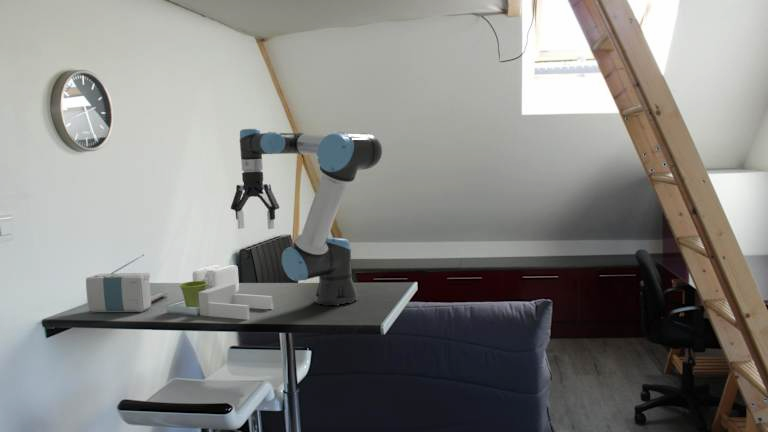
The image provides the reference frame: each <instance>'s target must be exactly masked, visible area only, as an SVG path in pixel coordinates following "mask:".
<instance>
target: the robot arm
mask: <svg viewBox="0 0 768 432" xmlns="http://www.w3.org/2000/svg"><path fill="white" fill-rule="evenodd" d="M239 148H240V158H241V160H240V162H241V171H243V172H242V174H241V176H242V177H241V178H242V183H243V184H236V191H235V193H234V197H233V199H232V203H231V206H230V209H231V210H233V211H235V219H236V221H237V229H238V230H239V229H240V230H241V229H245V217H244V210H243V209H244V206H245V205H246V203H247V202H248V199H250V198H251V197H255V198H256V197H257V198H259V200H260V201H261V202H262V204H264V206H265V208H266V209H267V211H266V213H267V229H268V230H272V229H275V221H274V220H275V219H276V210H278V209H280V205H279V203H278V201H277V199H276V197H275V195H274V192H273V191H272V185H271V184H270V183H265V184H264V183H263V181H264V172H263V171H262V170H263V165H264V164H263V155H278V154H279V155H280V154H284V155H285V154H297V155H306V156H315V157H318V158H317V163H318V165H319V168H318V169H319V171H320V173H321V174H322V175H321V176H320V180H319V183H318V185H317V189H316V191H315V194H314V196H313V200H312V202H311V206H310V209H309V211H308V214H307V217H306V220H305V223H304V226H303V230H302V232H301V234H298V235H297V236H296V237H295V239H294V241H293V243H292V244H293V245H292V246H289V247H287V248H285V249H284V250H283V252H282V253H281V254H282V255H281V265H282V267H283V271H284V273H285V274H286V275H287V277H288V278H289V279H291V280H292V281H295V282H300V281H307V280H309V279H313V278H317V277H318V281H319V282H318V283H317V289H316V292H315V297H314V298H315V303H316V304H317V303H318V304H317V305H320V304H323V305H322V306H328V305H335V306H338V305H337V304H345V303H350V302H353V301H355V300H357V301H358V292H357V290H356V287H355V283H354V282H353V280H352V260H351V258H352V256H351V255H352V254H351V253H352V252H351V251H352V250H351V245H350V244H351V243H350V241H349V240H348V239H347V238H341V237H329V234H330V232H331V229H332V227H333V224H334V221H335V218H336V216H337V212H338V210H339V208H340V205H341V202H342V199H343V196H344V194H345V191H346V188H347V186H348V184H350V183H352V182H353V181H354V180H355V178H356V175H357V173H358V171H359V170H368V169H371V168H373V167H375V166H376V165H377V164H378V163H379V162H380V161H381V159H382V155H383V147H382V144H381V142H380V140H379V139H378V138H377V137H376V136H374V135H372V134H371V133H365V132H364V133H363V132H362V133H360V132H358V133H356V132H355V133H354V132H351V133H349V132H336V133H335V132H334V133H329V134H327V135H324V134H322V135H321V134H310V133H309V134H308V133H304V132H275V131H268V132H264V133H261V129H258V128H243V129H240V131H239ZM355 302H356V301H355ZM353 303H354V302H353ZM350 304H351V303H350ZM345 305H346V304H345Z"/></svg>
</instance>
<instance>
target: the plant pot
mask: <svg viewBox="0 0 768 432" xmlns="http://www.w3.org/2000/svg"><path fill="white" fill-rule="evenodd" d="M206 284H207V282H206V281H193V280H192V281H186V282H183V283H180V284H179V285H178V286H179V287H180V289H181V291H182V296H183V301H184V300H185V305H186V307H195V308H197V307H199V293H198V292H201V291H204V290H205V289H206Z"/></svg>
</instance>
